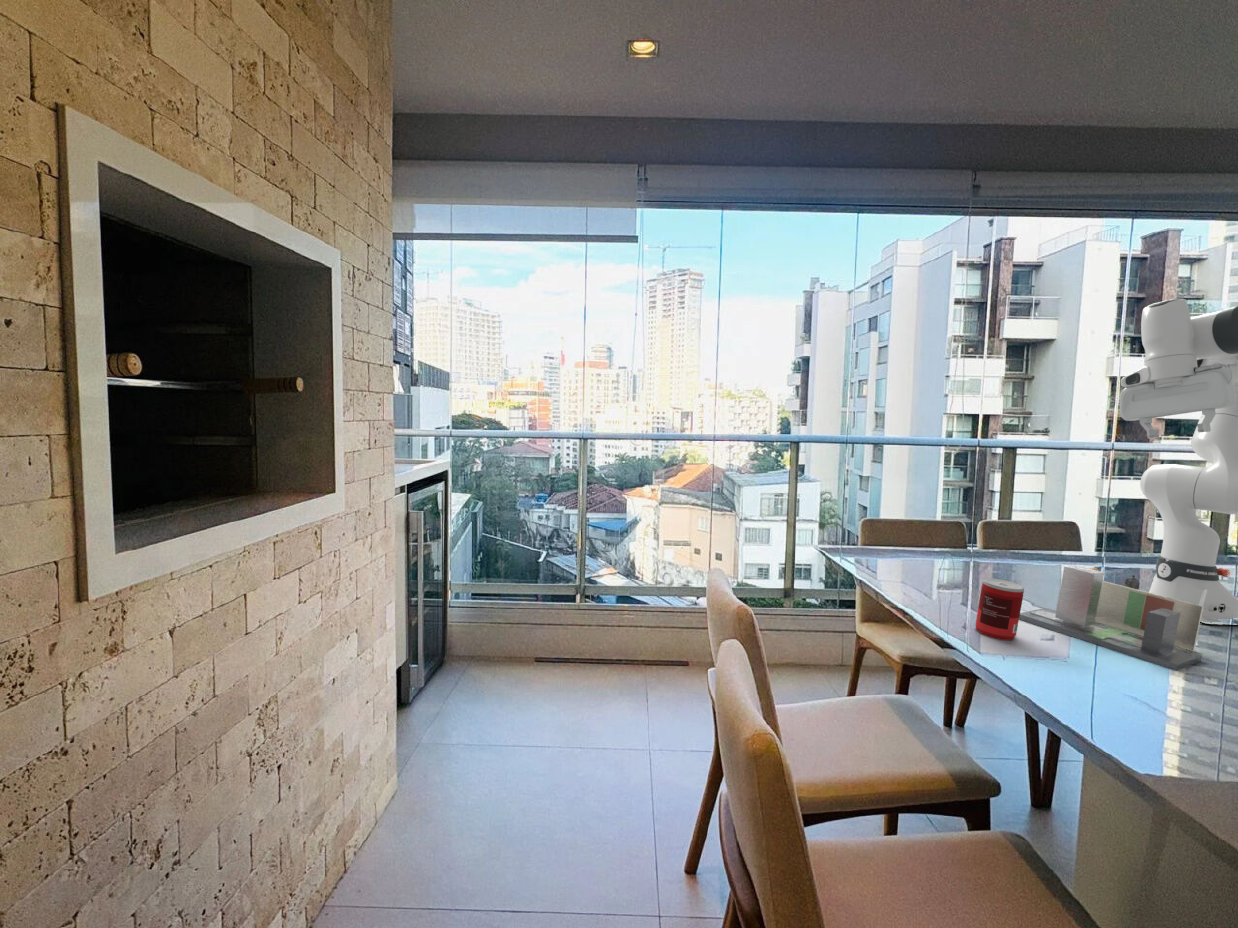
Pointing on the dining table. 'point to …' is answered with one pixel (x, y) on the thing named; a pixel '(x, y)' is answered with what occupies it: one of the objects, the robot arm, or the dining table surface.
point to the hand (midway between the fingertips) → (1178, 435)
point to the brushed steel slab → (1079, 595)
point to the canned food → (999, 608)
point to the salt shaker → (1132, 583)
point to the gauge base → (1135, 625)
